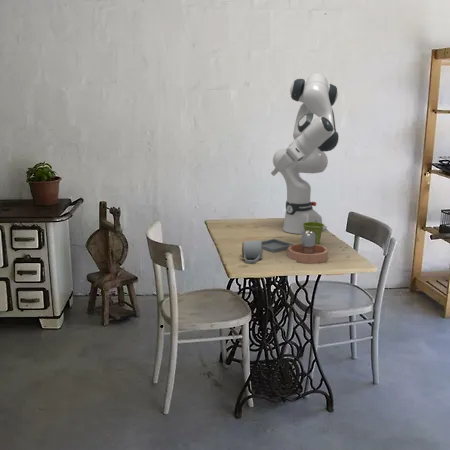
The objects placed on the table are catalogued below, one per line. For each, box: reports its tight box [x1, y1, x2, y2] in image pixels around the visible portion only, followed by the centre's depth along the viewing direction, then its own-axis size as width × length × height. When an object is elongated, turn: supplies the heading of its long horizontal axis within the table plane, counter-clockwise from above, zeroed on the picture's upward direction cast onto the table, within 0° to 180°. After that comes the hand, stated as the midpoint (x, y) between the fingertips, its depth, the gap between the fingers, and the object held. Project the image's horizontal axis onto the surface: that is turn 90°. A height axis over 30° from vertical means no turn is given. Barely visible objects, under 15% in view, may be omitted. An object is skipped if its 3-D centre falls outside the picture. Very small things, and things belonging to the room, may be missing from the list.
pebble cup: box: [300, 230, 315, 254], centre depth 233 cm, size 5×5×10 cm
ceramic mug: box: [241, 239, 264, 264], centre depth 230 cm, size 11×8×8 cm
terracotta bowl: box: [286, 243, 329, 264], centre depth 234 cm, size 16×16×4 cm
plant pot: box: [303, 222, 325, 245], centre depth 253 cm, size 9×9×9 cm
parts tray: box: [262, 238, 295, 253], centre depth 246 cm, size 12×12×2 cm
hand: (276, 172), depth 239 cm, fingers open, 8 cm apart
